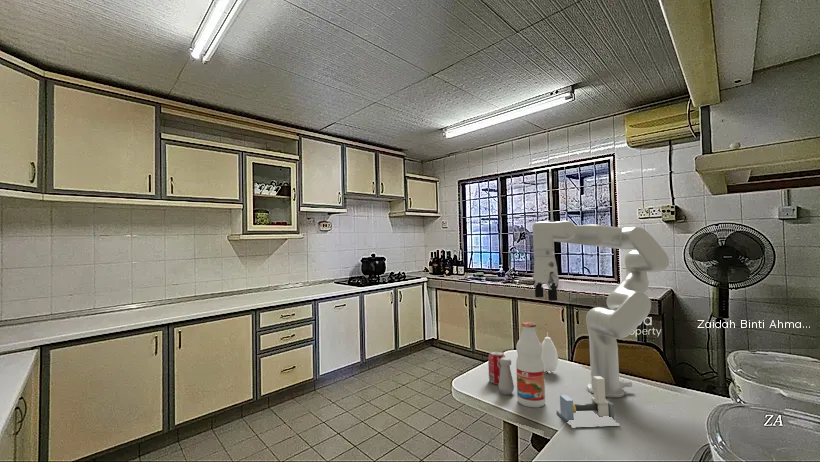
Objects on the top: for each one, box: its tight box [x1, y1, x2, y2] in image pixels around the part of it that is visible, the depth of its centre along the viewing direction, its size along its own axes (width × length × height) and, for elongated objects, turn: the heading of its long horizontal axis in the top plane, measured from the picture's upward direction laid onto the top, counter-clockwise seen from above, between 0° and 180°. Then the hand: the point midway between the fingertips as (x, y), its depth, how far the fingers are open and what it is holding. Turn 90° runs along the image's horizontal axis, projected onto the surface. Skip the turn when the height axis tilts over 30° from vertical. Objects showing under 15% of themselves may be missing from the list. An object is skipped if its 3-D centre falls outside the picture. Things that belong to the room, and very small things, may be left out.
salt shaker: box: [497, 356, 515, 396], centre depth 134 cm, size 6×6×13 cm
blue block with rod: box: [556, 394, 615, 424], centre depth 112 cm, size 15×10×7 cm, turn 93°
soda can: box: [487, 350, 506, 386], centre depth 145 cm, size 7×7×12 cm
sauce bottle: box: [541, 331, 559, 372], centre depth 156 cm, size 8×8×18 cm
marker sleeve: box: [591, 376, 609, 417], centre depth 112 cm, size 3×4×11 cm
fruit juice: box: [515, 321, 546, 408], centre depth 126 cm, size 9×9×28 cm
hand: (545, 298), depth 133 cm, fingers open, 9 cm apart
